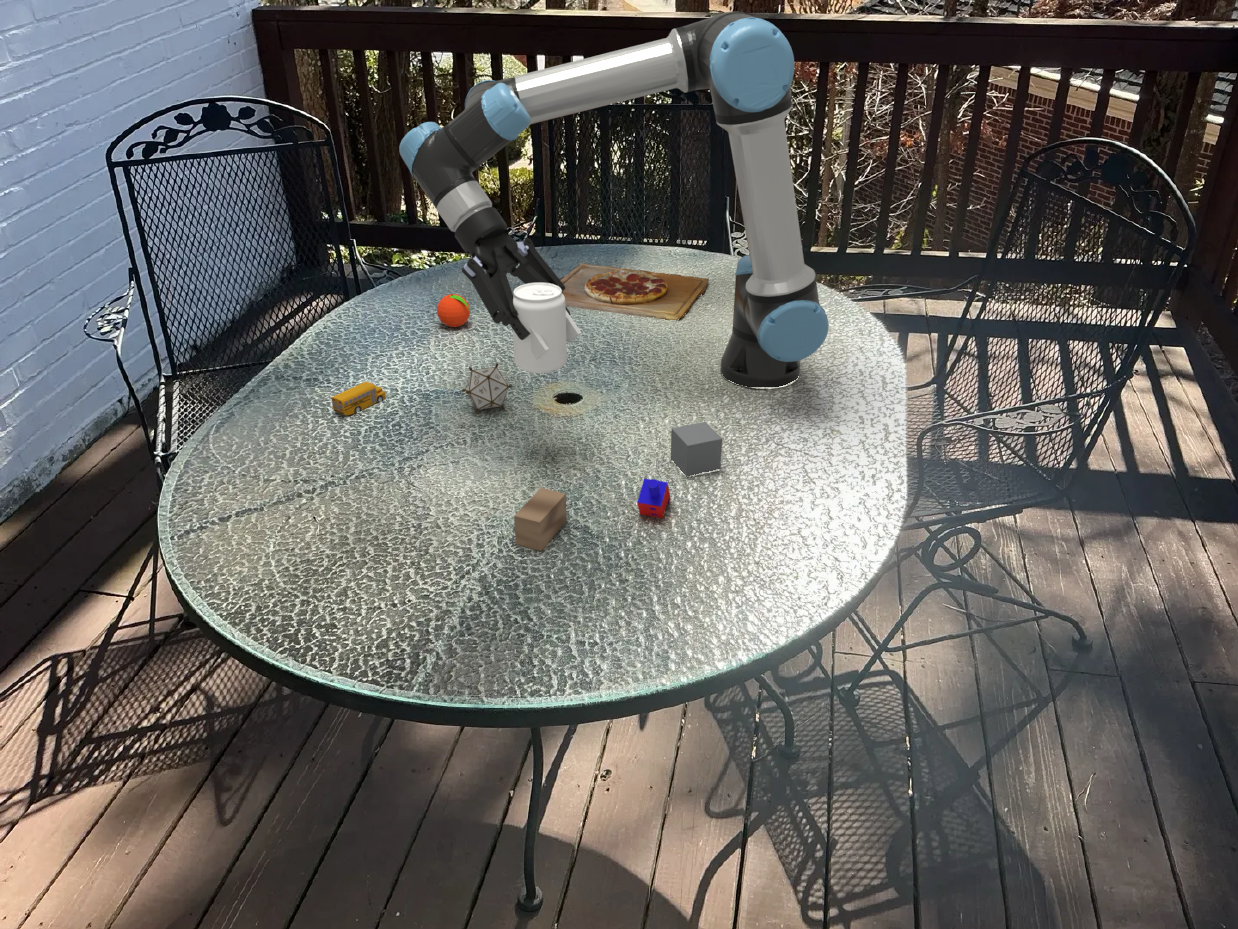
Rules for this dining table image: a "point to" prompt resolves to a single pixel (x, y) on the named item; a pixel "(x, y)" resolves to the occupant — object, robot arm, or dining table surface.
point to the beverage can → (541, 326)
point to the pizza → (631, 291)
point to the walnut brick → (540, 519)
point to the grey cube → (696, 448)
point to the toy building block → (653, 498)
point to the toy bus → (357, 398)
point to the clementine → (453, 310)
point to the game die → (486, 388)
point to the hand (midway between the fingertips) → (559, 345)
